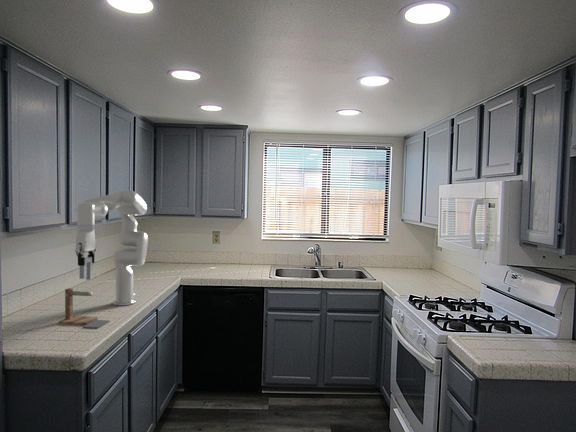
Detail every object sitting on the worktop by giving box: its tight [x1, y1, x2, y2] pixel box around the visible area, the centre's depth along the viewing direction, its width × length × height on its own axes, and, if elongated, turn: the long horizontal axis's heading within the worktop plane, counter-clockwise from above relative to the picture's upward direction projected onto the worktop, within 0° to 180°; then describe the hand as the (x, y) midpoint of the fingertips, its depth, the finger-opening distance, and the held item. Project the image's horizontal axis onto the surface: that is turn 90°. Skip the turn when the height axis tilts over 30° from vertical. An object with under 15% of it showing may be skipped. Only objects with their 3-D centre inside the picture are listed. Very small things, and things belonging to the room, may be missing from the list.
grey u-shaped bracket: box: [79, 256, 94, 281], centre depth 207 cm, size 8×2×11 cm, turn 175°
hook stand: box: [58, 288, 99, 326], centre depth 208 cm, size 14×10×16 cm
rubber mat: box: [82, 319, 110, 329], centre depth 204 cm, size 11×8×1 cm
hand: (86, 264), depth 207 cm, fingers closed on grey u-shaped bracket, 7 cm apart
